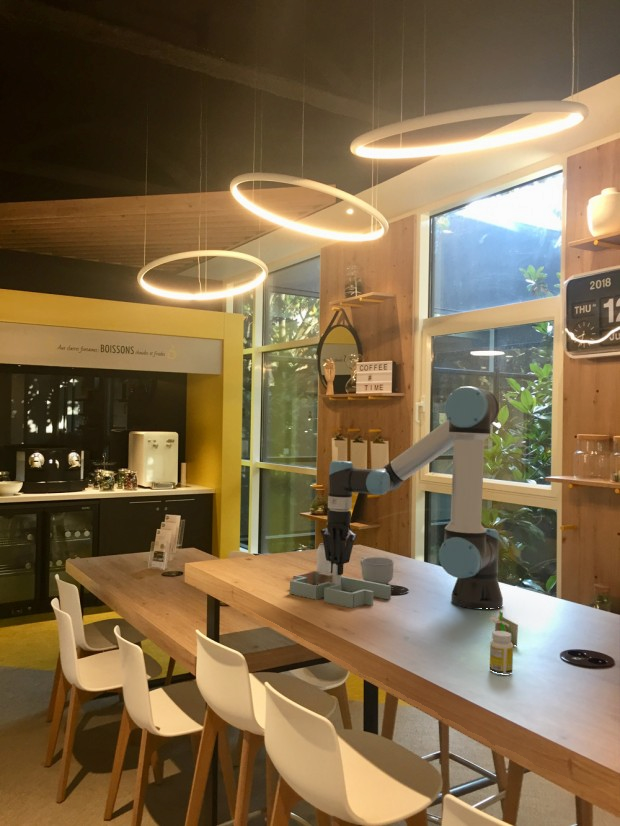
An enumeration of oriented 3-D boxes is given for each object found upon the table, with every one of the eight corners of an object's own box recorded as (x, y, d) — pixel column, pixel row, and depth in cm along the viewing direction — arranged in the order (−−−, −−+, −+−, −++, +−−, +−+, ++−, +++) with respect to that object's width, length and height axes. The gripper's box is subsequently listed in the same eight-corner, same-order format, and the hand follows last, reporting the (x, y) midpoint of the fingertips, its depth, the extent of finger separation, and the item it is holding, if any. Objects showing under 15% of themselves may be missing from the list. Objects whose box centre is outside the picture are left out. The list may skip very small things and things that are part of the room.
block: (339, 589, 223) (339, 573, 223) (329, 591, 219) (330, 575, 219) (327, 586, 226) (327, 571, 226) (317, 589, 222) (317, 573, 222)
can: (335, 579, 237) (337, 543, 237) (334, 583, 231) (336, 547, 231) (316, 578, 238) (318, 542, 238) (315, 582, 231) (316, 546, 231)
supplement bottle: (508, 668, 154) (509, 630, 154) (515, 676, 149) (516, 637, 149) (486, 668, 153) (488, 629, 154) (493, 675, 149) (494, 636, 149)
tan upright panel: (502, 649, 168) (503, 616, 169) (488, 641, 175) (489, 608, 175) (517, 649, 169) (518, 616, 170) (502, 640, 176) (503, 608, 176)
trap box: (390, 599, 212) (391, 585, 212) (359, 609, 198) (359, 595, 199) (313, 582, 230) (313, 570, 230) (279, 591, 216) (280, 578, 216)
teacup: (398, 586, 230) (399, 562, 230) (369, 588, 226) (370, 563, 226) (379, 577, 243) (380, 554, 243) (351, 579, 239) (351, 555, 239)
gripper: (316, 508, 222) (312, 582, 221) (349, 512, 213) (346, 590, 213) (330, 506, 227) (327, 579, 227) (363, 511, 219) (360, 586, 219)
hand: (336, 584), depth 220 cm, fingers closed
